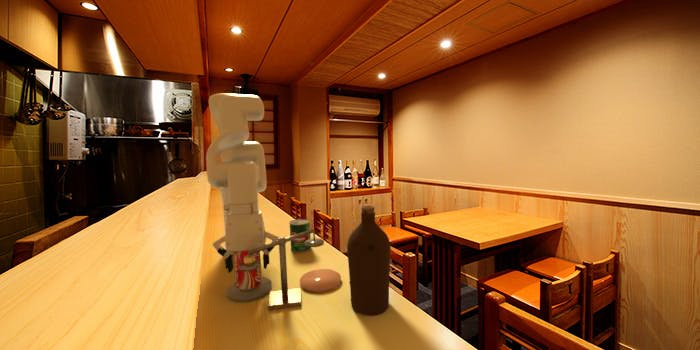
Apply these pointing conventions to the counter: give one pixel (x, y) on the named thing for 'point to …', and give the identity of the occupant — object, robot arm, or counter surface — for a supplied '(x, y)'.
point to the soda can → (246, 272)
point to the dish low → (249, 291)
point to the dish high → (320, 280)
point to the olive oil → (369, 265)
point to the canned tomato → (297, 228)
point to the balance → (285, 295)
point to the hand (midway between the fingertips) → (248, 268)
